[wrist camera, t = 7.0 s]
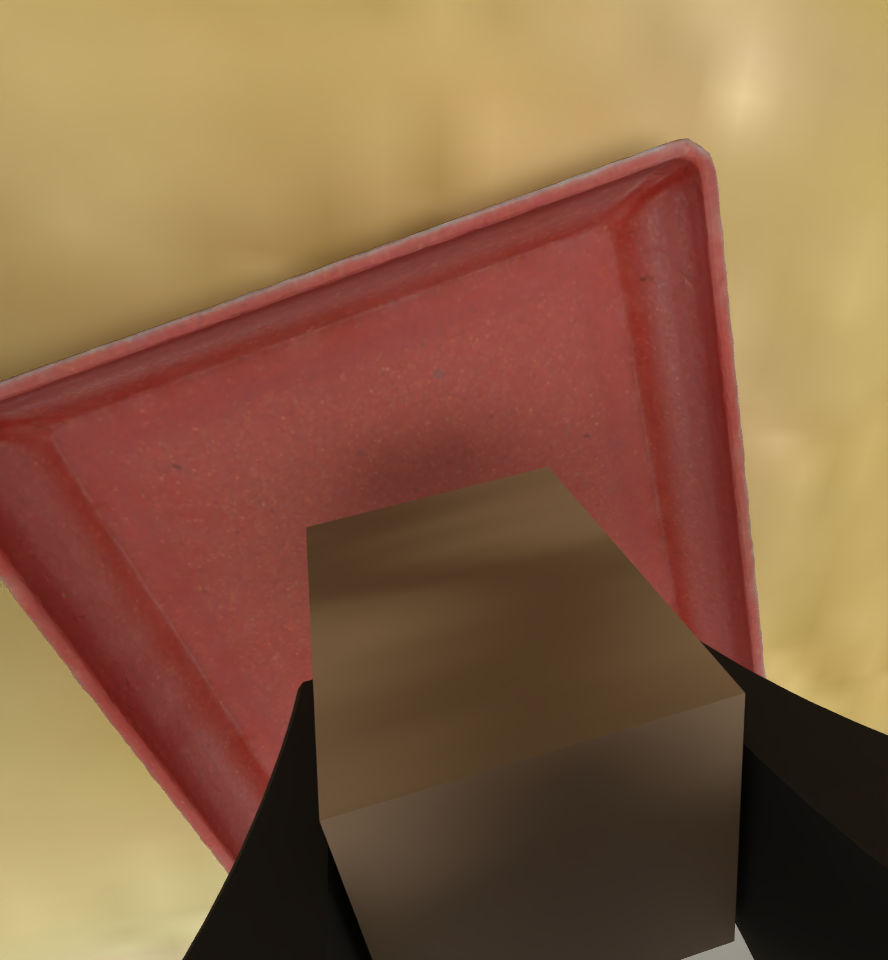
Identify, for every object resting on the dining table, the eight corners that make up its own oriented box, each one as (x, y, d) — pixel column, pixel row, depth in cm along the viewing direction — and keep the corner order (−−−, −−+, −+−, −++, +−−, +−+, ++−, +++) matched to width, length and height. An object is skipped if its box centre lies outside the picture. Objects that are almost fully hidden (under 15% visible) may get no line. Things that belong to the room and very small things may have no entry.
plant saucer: (645, 130, 17) (720, 123, 14) (717, 645, 25) (774, 709, 22) (-50, 377, 16) (-126, 426, 13) (263, 828, 24) (260, 919, 21)
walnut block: (362, 712, 14) (407, 1052, 8) (305, 527, 12) (319, 820, 6) (568, 654, 14) (734, 941, 9) (547, 466, 12) (744, 693, 7)
